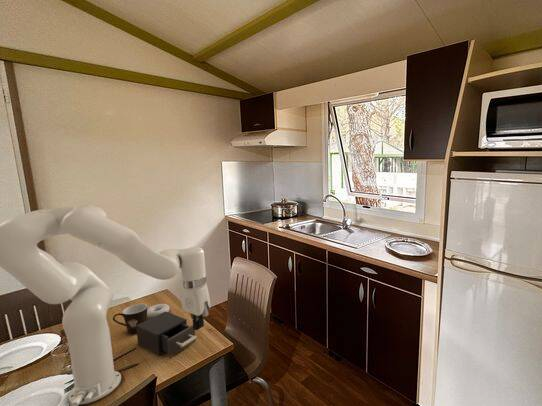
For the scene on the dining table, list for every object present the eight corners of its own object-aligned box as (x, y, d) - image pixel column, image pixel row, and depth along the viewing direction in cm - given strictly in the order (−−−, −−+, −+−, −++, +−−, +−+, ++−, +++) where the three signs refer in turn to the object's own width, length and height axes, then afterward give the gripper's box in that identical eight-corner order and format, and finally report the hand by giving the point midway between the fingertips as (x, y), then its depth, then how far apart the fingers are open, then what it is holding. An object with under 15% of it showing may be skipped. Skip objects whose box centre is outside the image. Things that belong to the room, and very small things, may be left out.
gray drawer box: (187, 338, 114) (186, 319, 113) (159, 355, 104) (157, 335, 102) (167, 329, 120) (165, 311, 118) (138, 345, 109) (136, 325, 108)
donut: (174, 312, 133) (163, 306, 138) (173, 306, 132) (162, 300, 137) (151, 322, 124) (140, 315, 130) (150, 315, 124) (140, 309, 129)
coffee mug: (154, 325, 123) (152, 304, 121) (138, 337, 114) (135, 315, 113) (130, 323, 124) (128, 302, 122) (112, 334, 115) (110, 312, 114)
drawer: (202, 344, 109) (201, 328, 108) (177, 360, 100) (176, 343, 99) (175, 332, 116) (174, 317, 115) (149, 347, 107) (148, 331, 106)
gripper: (171, 281, 98) (175, 328, 101) (199, 290, 92) (203, 339, 95) (190, 274, 105) (194, 317, 108) (218, 281, 99) (221, 327, 102)
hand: (198, 327), depth 101 cm, fingers closed
